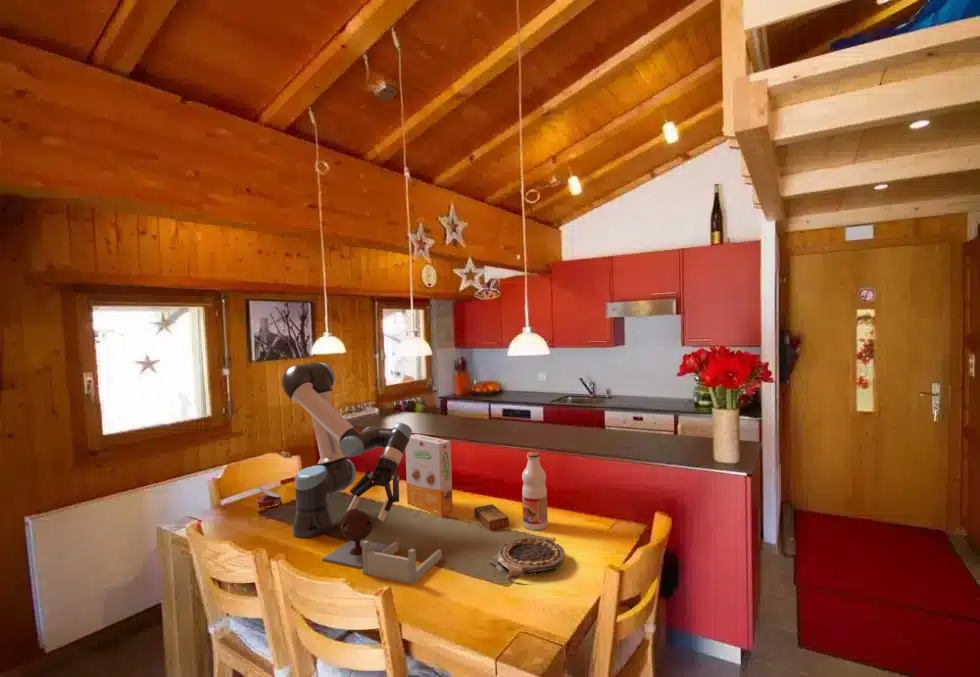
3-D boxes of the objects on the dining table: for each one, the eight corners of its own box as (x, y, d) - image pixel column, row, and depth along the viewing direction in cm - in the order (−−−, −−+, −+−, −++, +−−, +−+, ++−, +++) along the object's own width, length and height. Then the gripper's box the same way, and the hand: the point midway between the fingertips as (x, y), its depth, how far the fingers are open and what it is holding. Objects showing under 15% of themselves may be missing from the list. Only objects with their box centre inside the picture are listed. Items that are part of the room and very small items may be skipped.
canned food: (263, 512, 224) (267, 489, 229) (284, 510, 223) (287, 487, 227) (248, 508, 214) (252, 485, 219) (270, 506, 213) (273, 483, 217)
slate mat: (322, 560, 165) (322, 558, 165) (353, 541, 179) (353, 538, 179) (361, 568, 158) (361, 566, 158) (390, 547, 173) (390, 545, 173)
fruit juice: (550, 529, 184) (548, 455, 183) (526, 531, 183) (524, 457, 182) (543, 519, 193) (542, 449, 193) (520, 522, 192) (518, 451, 191)
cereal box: (452, 512, 204) (450, 441, 203) (441, 517, 199) (438, 444, 198) (418, 500, 219) (416, 434, 218) (407, 504, 215) (405, 436, 214)
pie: (517, 538, 178) (517, 525, 178) (589, 556, 163) (588, 542, 163) (473, 572, 155) (473, 557, 154) (552, 597, 140) (552, 580, 140)
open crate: (363, 573, 155) (361, 542, 155) (394, 550, 171) (393, 521, 171) (413, 584, 147) (412, 551, 147) (442, 558, 163) (441, 529, 163)
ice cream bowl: (366, 559, 162) (364, 515, 162) (335, 557, 165) (333, 513, 164) (379, 545, 173) (378, 503, 173) (350, 543, 175) (348, 502, 175)
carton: (489, 532, 185) (488, 520, 184) (474, 517, 199) (473, 506, 199) (509, 527, 188) (508, 516, 188) (492, 513, 203) (492, 503, 203)
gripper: (421, 470, 181) (399, 526, 168) (367, 463, 191) (342, 516, 179) (412, 460, 176) (389, 517, 163) (357, 453, 186) (331, 507, 173)
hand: (364, 516), depth 171 cm, fingers open, 13 cm apart
